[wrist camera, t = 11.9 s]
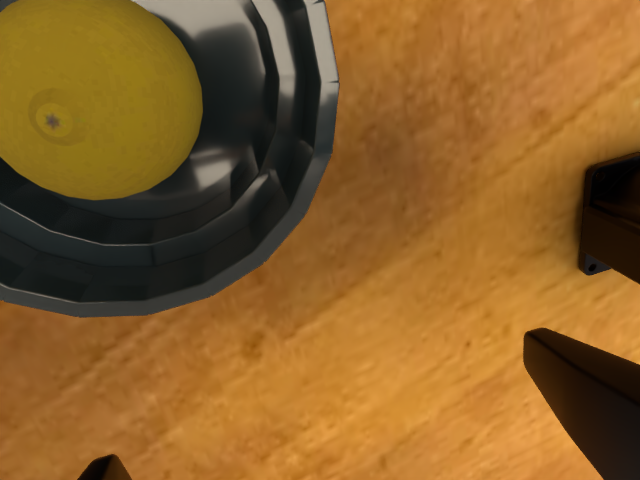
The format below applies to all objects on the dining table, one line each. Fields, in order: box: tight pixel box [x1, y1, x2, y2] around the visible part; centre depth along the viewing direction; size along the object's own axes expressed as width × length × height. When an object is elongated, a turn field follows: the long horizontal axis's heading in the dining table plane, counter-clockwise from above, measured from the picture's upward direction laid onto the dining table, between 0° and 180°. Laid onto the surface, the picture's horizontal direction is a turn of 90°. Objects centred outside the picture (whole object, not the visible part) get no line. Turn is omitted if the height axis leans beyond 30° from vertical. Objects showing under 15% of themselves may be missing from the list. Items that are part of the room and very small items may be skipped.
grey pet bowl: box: [0, 0, 340, 317], centre depth 14 cm, size 14×14×6 cm
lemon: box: [0, 0, 203, 200], centre depth 12 cm, size 6×6×8 cm
